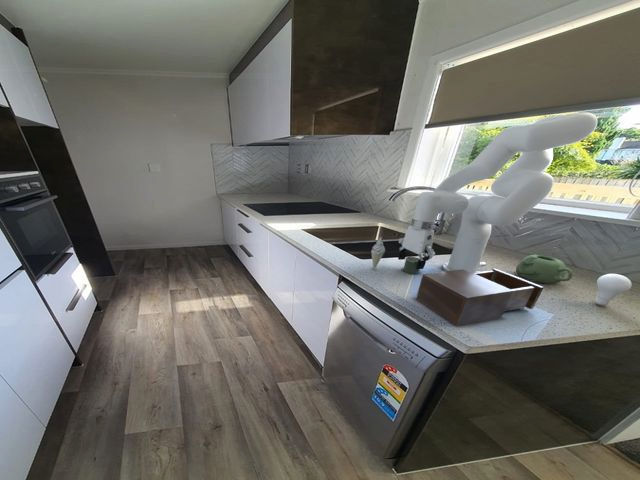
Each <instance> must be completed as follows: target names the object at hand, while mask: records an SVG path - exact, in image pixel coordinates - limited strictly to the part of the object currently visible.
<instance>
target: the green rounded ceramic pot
mask: <svg viewBox="0 0 640 480" xmlns="http://www.w3.org/2000/svg"><path fill="white" fill-rule="evenodd" d="M515 272H516V273H517V274H518V275H519V276H520V277H521V278H523V279H525V280H528V281H531V282H532V281H533V282H536V283H541V284H547V285H552V284H560V283H561V282H567V281H568V282H569V281H570V280H571V279H572V278H573V276H574V273H573V272H574V271H573V270H572V269H571V268H569V267H566V264H565V263H564V261H562V260H560V259H558V258H556V257H553V256H549V255H545V254H544V255H542V254H530V255H527V256H526V257H524V258H523V259H522V260H520V261H519V262H518V263H517V265H516V267H515ZM567 272H568V276H567V277H566V274H567Z"/></svg>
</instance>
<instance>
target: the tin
mask: <svg viewBox="0 0 640 480" xmlns="http://www.w3.org/2000/svg"><path fill="white" fill-rule="evenodd" d="M418 260H420V257H416V256H406V258H405V261H404V265H403V272H405V273H407V274H410V275H417V274H419V273H420V269H416V266H417V263H418Z"/></svg>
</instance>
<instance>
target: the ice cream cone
mask: <svg viewBox="0 0 640 480" xmlns="http://www.w3.org/2000/svg"><path fill="white" fill-rule="evenodd" d="M371 248H372V249H371V251H370V253H371V261H372V268H373V271H374V270H376V268H377V267H378V265H379V262H380V261H381V259H382V258H383V256H384V254H385V252H386V248H385V246H384V242H383V239H382V236H380V237H379V239H377V241H376V243H375V244H374V245H373V246H372V247H371Z"/></svg>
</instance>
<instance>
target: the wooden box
mask: <svg viewBox="0 0 640 480" xmlns="http://www.w3.org/2000/svg"><path fill="white" fill-rule="evenodd" d="M512 293H513V290H511V289H508V288H506V287H504V286H501V285H499V284H497V283H495V282H492V281H490V280H488V279H485V278H483V277H481V276H478V275H476V274H474V273H471V272H469V271H467V270H464V269H462V270H454V271H439V272H430V273H423V274H422V276H421V280H420V283H419V287H418V290H417V293H416V296H415V300H416V301H418V302H419V303H420V304H422V305H424V306H425V307H427V308H428V309H430V310H431V311H432V312H434V313H436V314H437V315H438V316H440V317H441V318H444V319H445V320H446V321H448V322H449V323H451V324H453V325H454V326H456V327H458V326H465V325H470V324H476V323H481V322H487V321H488V322H489V321H492V320H498V319H502V317H503V315H504V313H505V312H506V311H505V308H506V306H507V304H508V302H509V300H510V298H511V296H512Z"/></svg>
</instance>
